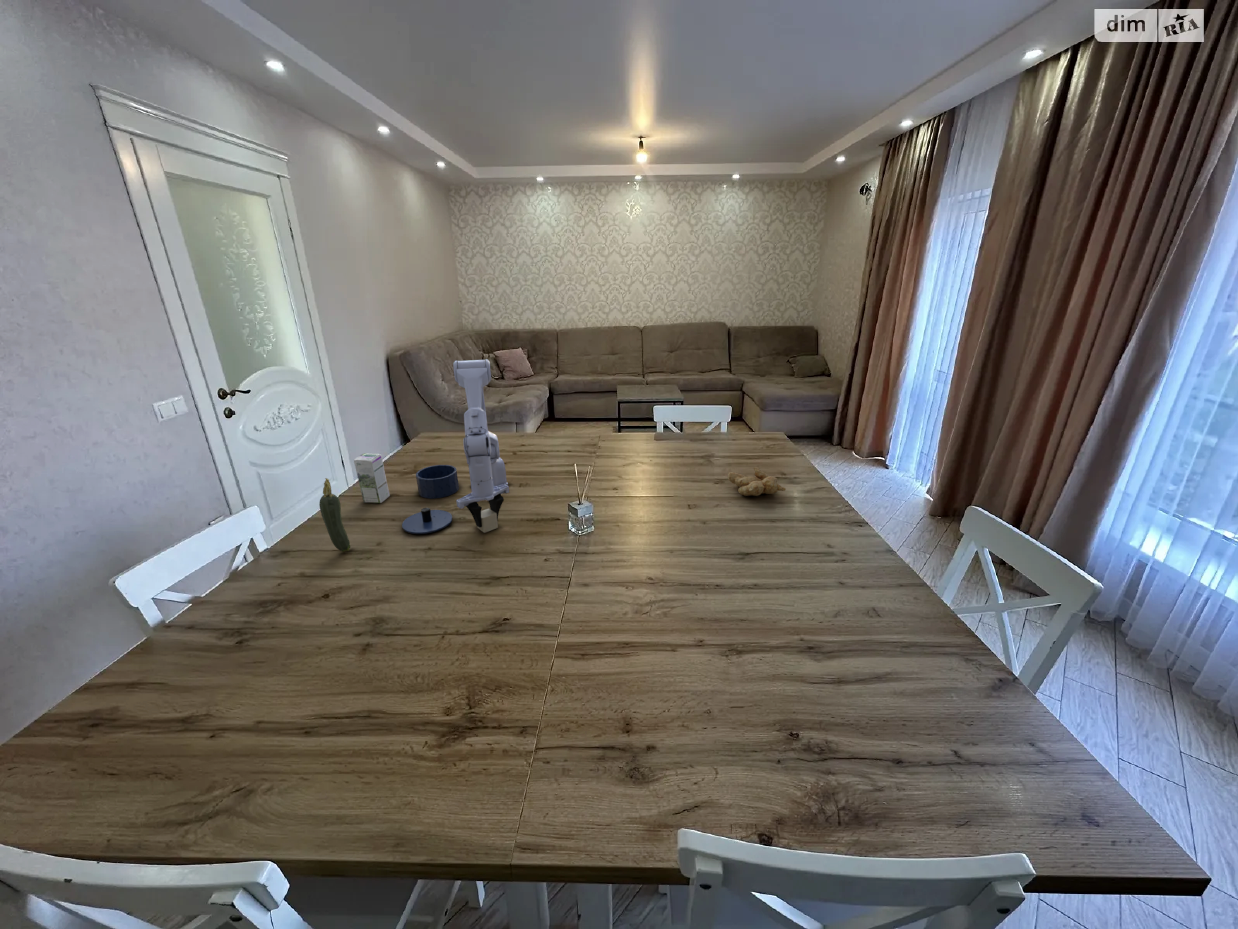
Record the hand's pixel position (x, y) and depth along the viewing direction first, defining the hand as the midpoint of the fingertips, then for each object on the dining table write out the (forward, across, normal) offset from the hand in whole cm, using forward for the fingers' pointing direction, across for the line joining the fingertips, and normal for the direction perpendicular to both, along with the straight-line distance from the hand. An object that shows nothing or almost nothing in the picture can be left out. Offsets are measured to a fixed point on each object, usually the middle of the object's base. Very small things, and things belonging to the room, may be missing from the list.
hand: (486, 523), depth 133 cm
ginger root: (+2, +73, -39) cm, 83 cm away
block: (+1, 0, 0) cm, 1 cm away
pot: (+1, +1, +33) cm, 33 cm away
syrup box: (+2, -16, +40) cm, 43 cm away
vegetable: (+2, -33, +14) cm, 36 cm away
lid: (+1, -11, +13) cm, 17 cm away
